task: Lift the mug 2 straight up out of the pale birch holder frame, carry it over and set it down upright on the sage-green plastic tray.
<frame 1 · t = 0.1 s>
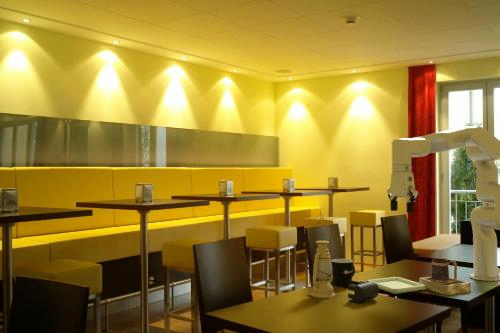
hand: (402, 211, 203), 31 cm above the table, fingers open, 9 cm apart
mug 2: (444, 289, 201), resting in holder
lantern: (322, 295, 193), on the table
end cap: (363, 302, 183), on the table
holder: (444, 289, 201), on the table
mug: (344, 284, 211), on the table
tray: (395, 287, 205), on the table
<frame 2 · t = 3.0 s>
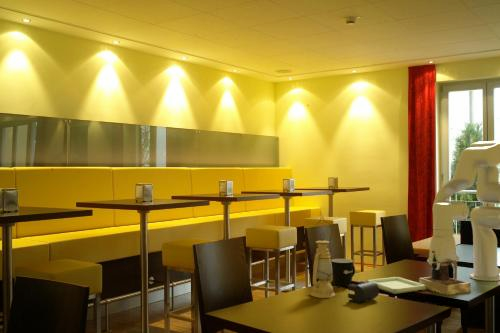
hand: (443, 278, 200), 4 cm above the table, fingers closed on mug 2, 6 cm apart
mug 2: (444, 289, 200), resting in holder, touching gripper
everything else where it was.
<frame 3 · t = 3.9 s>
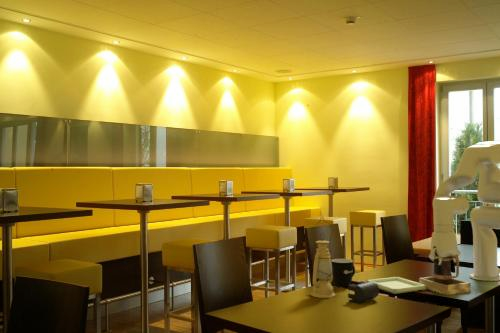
hand: (445, 272, 201), 6 cm above the table, fingers closed on mug 2, 6 cm apart
mug 2: (446, 284, 201), point 2 cm above the table, touching gripper
everything else where it was.
when the fingers open (6 cm above the table, at t = 7.6 s): mug 2 stays where it is, resting on tray.
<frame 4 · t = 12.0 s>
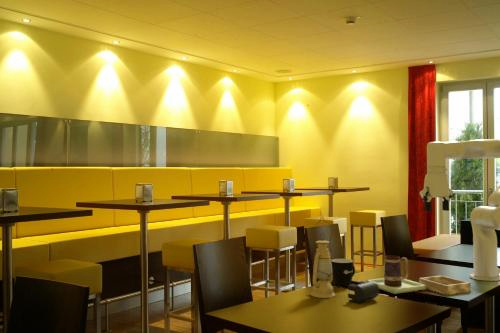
hand: (436, 210, 214), 30 cm above the table, fingers open, 9 cm apart
mug 2: (396, 286, 205), resting on tray
everything else where it was.
at the end: mug 2 inside the target area on the tray (0.2 cm from its centre), point 0.4 cm above the tray's base; mug 2 tilted 0°; the gripper is holding nothing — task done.
